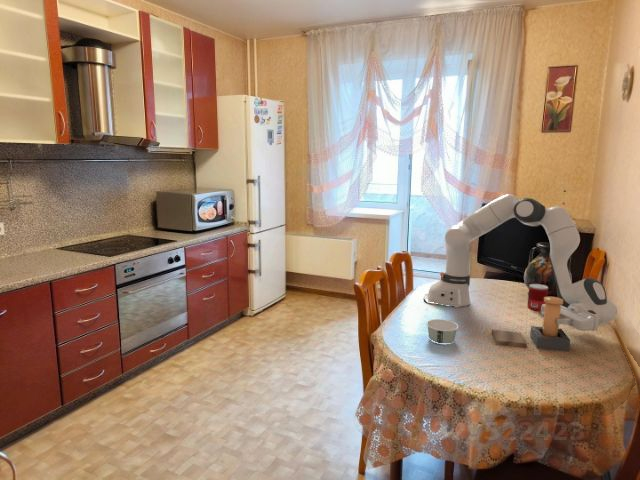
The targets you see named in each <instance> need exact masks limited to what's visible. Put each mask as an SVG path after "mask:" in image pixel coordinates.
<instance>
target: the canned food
mask: <svg viewBox="0 0 640 480" xmlns="http://www.w3.org/2000/svg"><path fill="white" fill-rule="evenodd" d="M528 292H529V295H528V294H527V295H528V297H527V308H528V309H530V310H532V311H537V312H541V306H542V305H543V304H545V302H544V297H547V295H548V287H547V286H545V285H541V284H530V286H529V289H528Z"/></svg>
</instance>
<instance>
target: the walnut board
mask: <svg viewBox="0 0 640 480" xmlns="http://www.w3.org/2000/svg"><path fill="white" fill-rule="evenodd" d="M491 336H492V339H493V342H494V344H495V345H501V346H511V347H521V348H527V345H528V344H527V341H526V339H525V338H524V337H525V336H524V335H523V334H522V332H520V331H511V330H509V331H508V330H500V329H499V330H498V329H491Z"/></svg>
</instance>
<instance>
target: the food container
mask: <svg viewBox="0 0 640 480" xmlns="http://www.w3.org/2000/svg"><path fill="white" fill-rule="evenodd" d="M426 326H427V330H428V332H427V333H428V339H429V338H430V339H431V340H433V341H435V342H438V343H452V342H453V341H454V342H455V339H456V336H457V335H456V334H457V331H458V330H459V325H458V324H457V323H456V322H454V321H451V320H448V319H442V318H434V319H430V320H428V321H426ZM454 342H453V343H454Z"/></svg>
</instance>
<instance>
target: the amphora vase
mask: <svg viewBox="0 0 640 480" xmlns="http://www.w3.org/2000/svg"><path fill="white" fill-rule="evenodd" d="M535 251H537V253H538V254H537V256H536V257H535V258H534V259H533V257H534V256H533V254H534V252H535ZM549 254H550V241H549V242H538V243H536V247H535V246H534V247H532V248H531V250H530V251H529V256H528V257H529V259H528V265H527V267H526V268H525V271H524V274H523V280H524V284H525V286H526V288H527V289H528V290H529V286H530V284H541V285H545V286H547V287H548V295H547V297H548V296H551V297H557V287H556V283H555V279H554V275H553V271H552V267H551V263H550V258H549ZM571 261H572V255H571V256H570V257H569V259H568V261H567V268H568V272H569V276H570V279H571V283H572V284H573V281H572V280H573V278H572V273H571ZM527 295H529V291H528V292H527Z"/></svg>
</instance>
